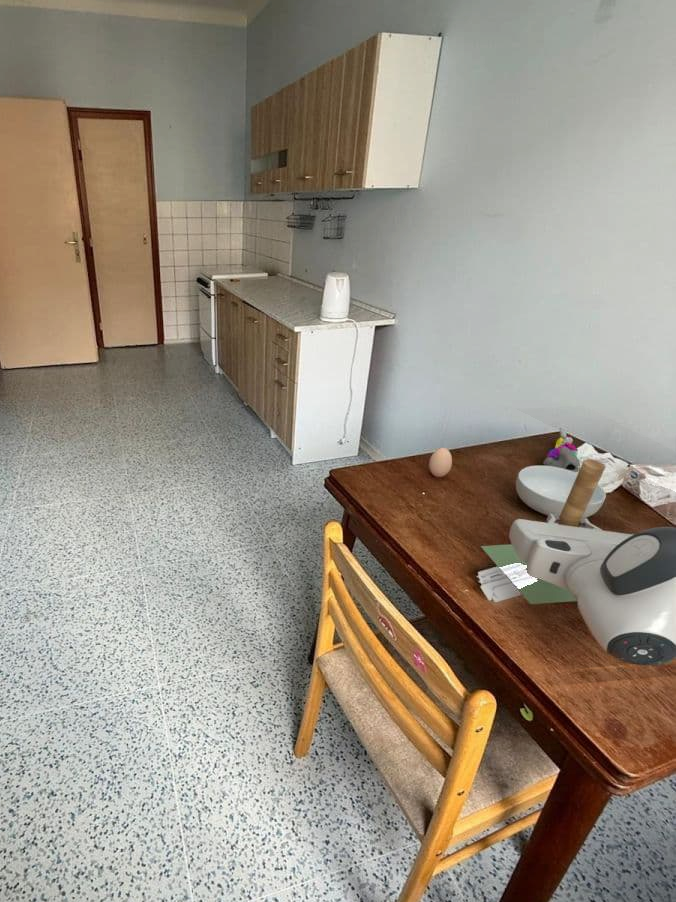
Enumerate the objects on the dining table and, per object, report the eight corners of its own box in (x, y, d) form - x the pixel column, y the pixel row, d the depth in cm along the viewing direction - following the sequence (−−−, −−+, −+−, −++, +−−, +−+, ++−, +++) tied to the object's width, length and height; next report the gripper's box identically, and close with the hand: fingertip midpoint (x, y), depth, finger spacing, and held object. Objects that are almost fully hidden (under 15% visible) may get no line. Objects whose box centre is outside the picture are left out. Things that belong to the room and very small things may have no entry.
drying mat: (562, 543, 98) (563, 540, 98) (625, 599, 84) (626, 597, 84) (479, 548, 97) (480, 546, 97) (529, 606, 83) (530, 603, 83)
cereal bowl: (548, 535, 101) (559, 508, 97) (494, 494, 115) (501, 469, 112) (614, 524, 104) (627, 498, 100) (553, 486, 118) (562, 461, 115)
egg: (435, 469, 126) (441, 441, 122) (452, 477, 122) (459, 449, 118) (422, 474, 124) (428, 446, 120) (439, 483, 120) (446, 454, 116)
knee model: (562, 460, 139) (571, 490, 119) (536, 444, 141) (541, 471, 121) (586, 436, 134) (601, 463, 114) (559, 420, 136) (569, 444, 116)
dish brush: (556, 541, 91) (595, 452, 80) (581, 563, 85) (626, 471, 75) (527, 545, 90) (563, 456, 79) (551, 567, 85) (592, 476, 74)
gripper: (685, 566, 69) (641, 513, 80) (528, 542, 74) (508, 496, 86) (666, 597, 72) (627, 542, 83) (517, 573, 77) (499, 524, 89)
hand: (565, 519), depth 85 cm, fingers closed on dish brush, 3 cm apart
